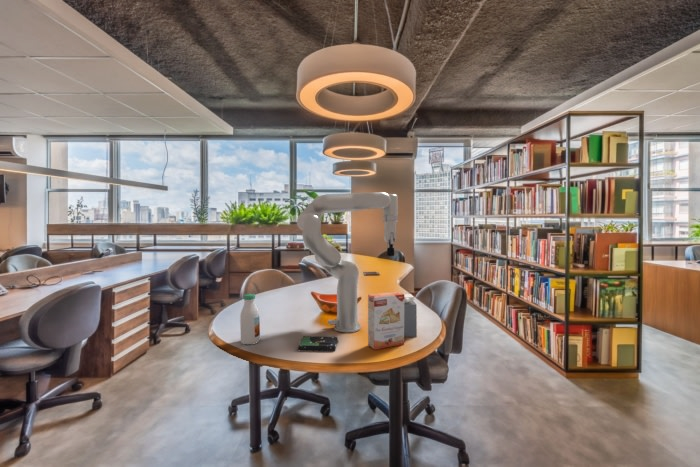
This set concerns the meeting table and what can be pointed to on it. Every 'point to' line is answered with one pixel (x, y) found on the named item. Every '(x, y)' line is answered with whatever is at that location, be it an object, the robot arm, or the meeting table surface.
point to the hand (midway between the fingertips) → (390, 255)
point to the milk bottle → (249, 321)
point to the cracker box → (385, 320)
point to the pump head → (408, 298)
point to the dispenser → (410, 319)
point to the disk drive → (318, 343)
